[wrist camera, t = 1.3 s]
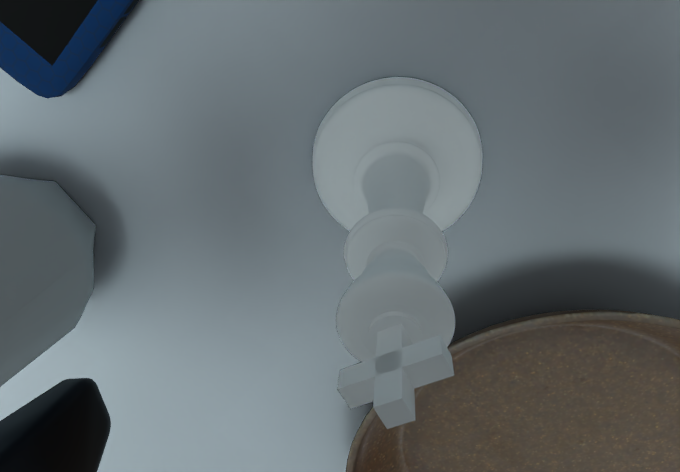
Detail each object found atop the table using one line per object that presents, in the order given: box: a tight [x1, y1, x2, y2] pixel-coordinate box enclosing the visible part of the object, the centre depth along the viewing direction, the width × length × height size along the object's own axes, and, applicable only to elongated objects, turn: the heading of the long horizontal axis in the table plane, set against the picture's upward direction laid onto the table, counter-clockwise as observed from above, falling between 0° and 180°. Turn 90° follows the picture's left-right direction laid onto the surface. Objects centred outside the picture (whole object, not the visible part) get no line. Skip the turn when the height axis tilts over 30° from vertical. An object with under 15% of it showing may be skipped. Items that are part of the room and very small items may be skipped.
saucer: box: [346, 310, 680, 472], centre depth 20 cm, size 15×15×3 cm
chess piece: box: [312, 77, 483, 429], centre depth 12 cm, size 5×5×10 cm
